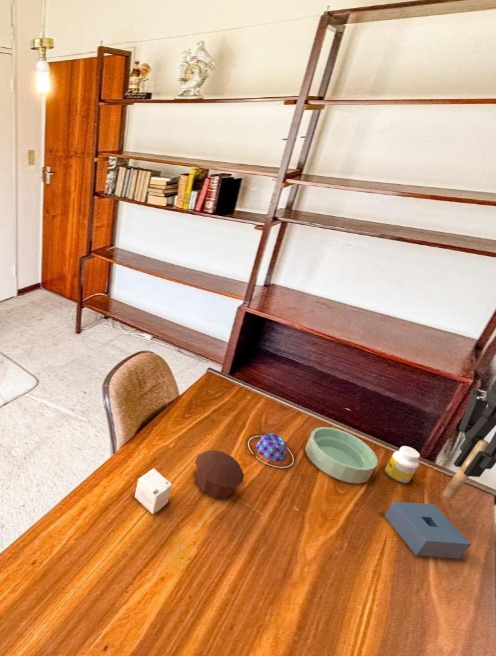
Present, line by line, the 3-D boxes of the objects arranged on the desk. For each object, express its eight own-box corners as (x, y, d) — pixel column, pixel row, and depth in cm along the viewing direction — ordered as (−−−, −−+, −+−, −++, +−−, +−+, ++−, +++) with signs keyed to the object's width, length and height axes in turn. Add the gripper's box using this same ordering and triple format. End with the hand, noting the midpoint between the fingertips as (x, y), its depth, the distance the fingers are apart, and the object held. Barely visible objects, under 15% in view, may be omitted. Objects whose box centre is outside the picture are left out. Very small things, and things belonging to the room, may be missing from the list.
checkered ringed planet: (300, 472, 111) (306, 459, 108) (255, 466, 112) (260, 452, 110) (283, 440, 121) (288, 427, 119) (242, 435, 123) (246, 422, 121)
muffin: (190, 496, 102) (198, 468, 98) (190, 463, 112) (197, 437, 108) (239, 510, 99) (250, 483, 95) (235, 476, 109) (244, 449, 104)
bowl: (345, 443, 121) (352, 428, 119) (382, 487, 107) (392, 471, 105) (294, 440, 122) (300, 425, 119) (324, 483, 108) (332, 467, 105)
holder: (422, 520, 99) (434, 504, 96) (458, 560, 90) (471, 544, 87) (382, 517, 99) (393, 501, 96) (414, 557, 90) (426, 541, 88)
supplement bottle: (385, 465, 114) (400, 440, 110) (409, 478, 110) (425, 452, 106) (381, 475, 111) (395, 450, 106) (405, 488, 107) (421, 463, 103)
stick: (447, 493, 89) (486, 438, 82) (454, 500, 87) (495, 445, 80) (439, 493, 89) (477, 437, 82) (446, 500, 87) (486, 444, 80)
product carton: (149, 487, 104) (153, 467, 101) (167, 504, 100) (173, 484, 97) (133, 498, 101) (137, 478, 98) (152, 516, 97) (157, 496, 94)
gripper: (471, 358, 81) (420, 442, 91) (552, 407, 68) (481, 499, 78) (509, 360, 81) (453, 445, 91) (597, 410, 68) (520, 502, 78)
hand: (466, 470), depth 85 cm, fingers closed on stick, 2 cm apart
